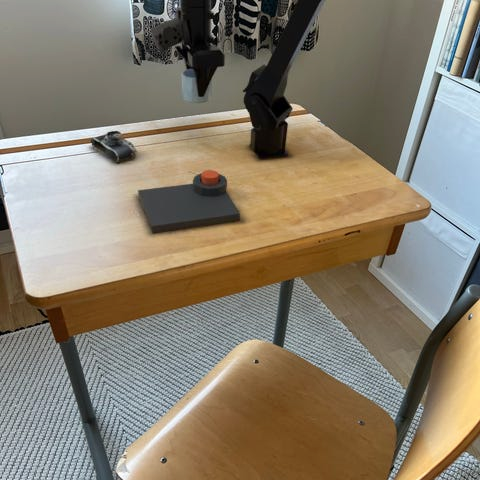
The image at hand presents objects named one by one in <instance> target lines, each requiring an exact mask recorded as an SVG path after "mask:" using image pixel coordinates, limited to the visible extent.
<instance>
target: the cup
mask: <svg viewBox="0 0 480 480" xmlns="http://www.w3.org/2000/svg"><path fill="white" fill-rule="evenodd" d="M212 79H213V78H212ZM212 79H211V81H210V84H209V86H208V88H207V90H206V93H205V95H204V97H199V96H198V93H197V87H196V81H195V75H194V70H193V69H188V70H186V69H185V70H183V71H181V97H182V98H183V99H184V101H185V102H187V103H189V104H206V103H207V102H209V101H210V100H211V99H212V95H213V94H212V87H213V86H212V83H213V80H212Z"/></svg>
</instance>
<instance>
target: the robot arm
mask: <svg viewBox="0 0 480 480" xmlns="http://www.w3.org/2000/svg"><path fill="white" fill-rule="evenodd" d="M171 1H172V2H175V0H171ZM179 2H180V3H179V6H180V7H177V10H176V11H175V12H176V17H175V18H172V19H169V20H166V21H164V22H162V23H160V24H157V25H156V26H154V27H152V28H150V34H151V36H152V38H153V41H154V43H155V46H156V48H157V49H158V51H159V52H162V53H164V52H166V51H169V49H171V48H172V47H174V49H175V50H176V51H177V53H179V55H181V57H182V59H183V62H184V64H185V65H184V66H185V70H188V69H193V70H194V75H195V81H196V87H197V93H198V96H199V97H204V95H205V93H206V90H207V88H208V86H209V84H210V81H211V79H213V77H214V75H215V73H216V72H217V70H218V68H222V67H224V66H225V63H226V61H225V59H226V58H225V57H226V55H225V54H224V52H223V51H222V50H221V48H219V47H218V46H217V45H216V44H215V43H214V42H215V37H214V36H213V35H212V20H215V12H214V11H212V0H179ZM325 2H326V0H297V2H296V3H295V5H294V7H293V10H292V12H291V14H290V16H289V19H287V23H286V25H285V26H284V28H283V30H282V33H281V34H280V37H279V39H278V41H277V43H276V45H275V47H274V50H273V51H272V54H271V56H270V58H269V60H268V63H267V64H264V63H263V64H262V65H260V66H259V67H258V68H256V69H255V70H253V71H252V72H251V74H250V75H249V79H248V83H247V85H246V87H244V89H242V92H243V93H244V96H243V100H242V101H243V105H244V107H245V110H246V111H247V113H248V115H249V119H250V123H251V126H252V128H251V129H250V140H249V141H250V143H249V148H250V149H251V151H252V152H253V153H254V154H255V155H256V157H257V158H258V159H260V160H263V159H264V160H265V159H272V158H273V159H274V158H281V157H288V156H289V152H288V151H287V150H286V147H287V146H286V145H287V137H288V129H289V128H288V127H289V123H288V122H287V119H288V118H290V116H291V114H292V112H293V106H292V105H291V104H290V102H289V101H288V99H287V98H286V96H285V95H284V94H285V92H286V89H287V86H288V80H289V79H288V78H289V73H290V70H291V68H292V66H293V64H294V63H295V61H296V59H297V57H298V55H299V53H300V51H301V49H302V47H303V46H304V43H305V41H306V39H307V37H308V35H309V33H310V31H311V30H312V27H313V26H314V24H315V22H316V19H317V18H318V16H319V14H320V12H321V11H322V8H323V6H324V4H325Z"/></svg>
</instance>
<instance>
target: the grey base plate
mask: <svg viewBox="0 0 480 480" xmlns="http://www.w3.org/2000/svg"><path fill="white" fill-rule="evenodd" d="M218 174H219V180H218V184H216V185H205V184H203V183H202V172H201V173H198V174H196V175H194V177H193V179H192V183H189V184H188V183H187V184H178V185H169V186H163V187H154V188H153V187H152V188H146V189H138V190H137V194H138V195H137V196H138V199H139V201H140V204H141V207H142V209H143V212H144V215H145V218H146V220H147V222H148V226H149V228H150V231H151V232H152V234H155V233H162V232H168V231H170V232H171V231H177V230H183V229H190V228H196V227H204V226H210V225H218V224H224V223H225V224H226V223H230V222H237V221H238V222H239V221H240V220H241V212H240V210H239V209H238V207H237V206H236V205H235V203H234V202H233V200H232V198H231V197H230V195H229V194H228V192H227V189H228V179H227V178H226V176H225V175H223V174H221V173H218Z"/></svg>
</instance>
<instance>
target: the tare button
mask: <svg viewBox="0 0 480 480" xmlns="http://www.w3.org/2000/svg"><path fill="white" fill-rule="evenodd" d="M201 173H202V183H203V184H205V185H216V184H218V180H219V174H220V173H219V172H218V171H216V170H214V169H213V170H212V169H209V170H208V169H207V170H204V171H202V172H201Z"/></svg>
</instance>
